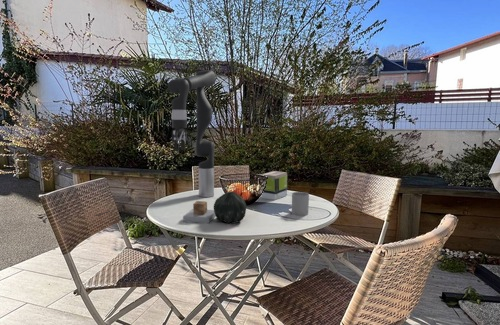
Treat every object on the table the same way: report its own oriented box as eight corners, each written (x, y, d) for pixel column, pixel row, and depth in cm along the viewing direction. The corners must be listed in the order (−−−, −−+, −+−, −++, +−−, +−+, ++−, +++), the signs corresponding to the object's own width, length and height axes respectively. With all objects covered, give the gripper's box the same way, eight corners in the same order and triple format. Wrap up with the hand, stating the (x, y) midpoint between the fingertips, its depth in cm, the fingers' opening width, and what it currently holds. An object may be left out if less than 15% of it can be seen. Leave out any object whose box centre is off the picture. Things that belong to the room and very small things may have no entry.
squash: (229, 202, 155) (217, 183, 145) (255, 207, 148) (245, 188, 138) (215, 226, 148) (202, 208, 138) (242, 233, 140) (231, 215, 130)
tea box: (273, 193, 200) (274, 170, 198) (287, 195, 194) (288, 172, 192) (260, 197, 188) (260, 173, 186) (274, 200, 182) (275, 175, 180)
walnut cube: (207, 211, 149) (206, 201, 148) (203, 214, 144) (203, 204, 143) (196, 211, 150) (196, 201, 149) (193, 214, 145) (193, 203, 144)
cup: (297, 216, 151) (298, 196, 150) (288, 212, 159) (288, 192, 157) (311, 214, 155) (312, 194, 154) (301, 210, 163) (302, 191, 161)
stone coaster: (192, 213, 154) (192, 208, 154) (216, 215, 152) (216, 210, 152) (183, 221, 142) (183, 216, 142) (208, 223, 140) (208, 217, 140)
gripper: (180, 118, 154) (181, 151, 156) (191, 119, 168) (191, 149, 170) (166, 118, 155) (167, 151, 157) (177, 119, 169) (178, 148, 171)
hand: (179, 150), depth 164 cm, fingers open, 8 cm apart
